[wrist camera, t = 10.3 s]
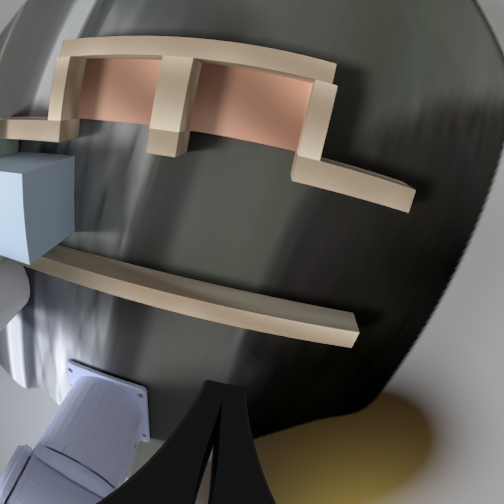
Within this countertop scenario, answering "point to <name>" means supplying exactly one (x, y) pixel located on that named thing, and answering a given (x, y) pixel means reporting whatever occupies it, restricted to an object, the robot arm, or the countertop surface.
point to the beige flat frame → (176, 143)
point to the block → (35, 203)
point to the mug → (12, 290)
